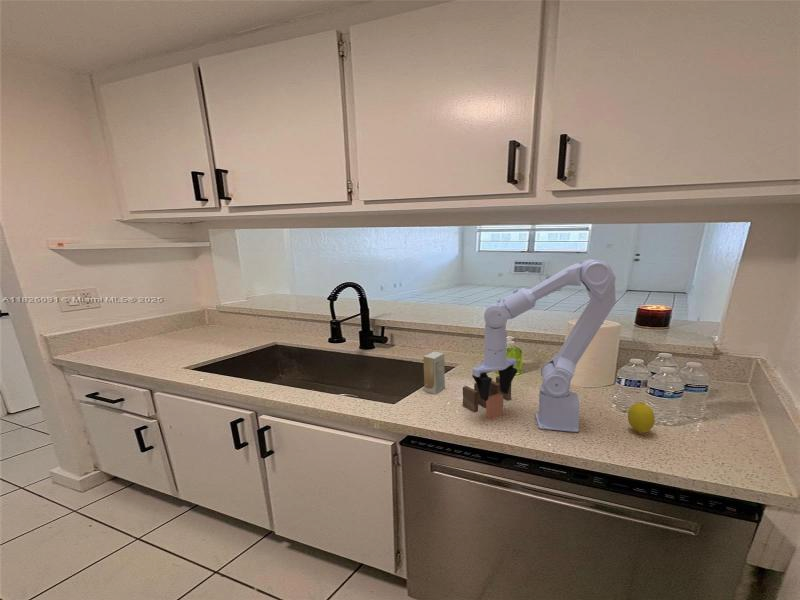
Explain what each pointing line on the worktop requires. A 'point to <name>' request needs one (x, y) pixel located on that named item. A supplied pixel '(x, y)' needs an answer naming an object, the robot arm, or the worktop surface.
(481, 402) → the domino
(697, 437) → the worktop surface
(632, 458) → the worktop surface
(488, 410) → the domino
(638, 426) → the lemon
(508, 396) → the domino
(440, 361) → the skincare box
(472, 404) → the domino
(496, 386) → the domino
